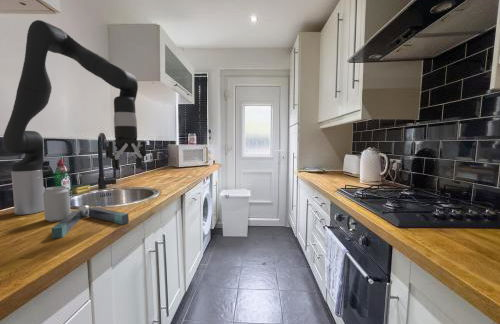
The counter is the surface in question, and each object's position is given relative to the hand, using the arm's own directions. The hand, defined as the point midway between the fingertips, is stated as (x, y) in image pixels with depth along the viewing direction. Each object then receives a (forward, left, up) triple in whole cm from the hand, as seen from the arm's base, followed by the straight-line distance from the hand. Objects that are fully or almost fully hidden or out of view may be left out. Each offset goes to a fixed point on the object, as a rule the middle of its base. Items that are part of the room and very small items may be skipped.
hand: (127, 168), depth 90 cm
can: (0, -25, -18) cm, 31 cm away
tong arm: (+4, -6, -18) cm, 20 cm away
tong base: (+8, -15, -18) cm, 25 cm away
